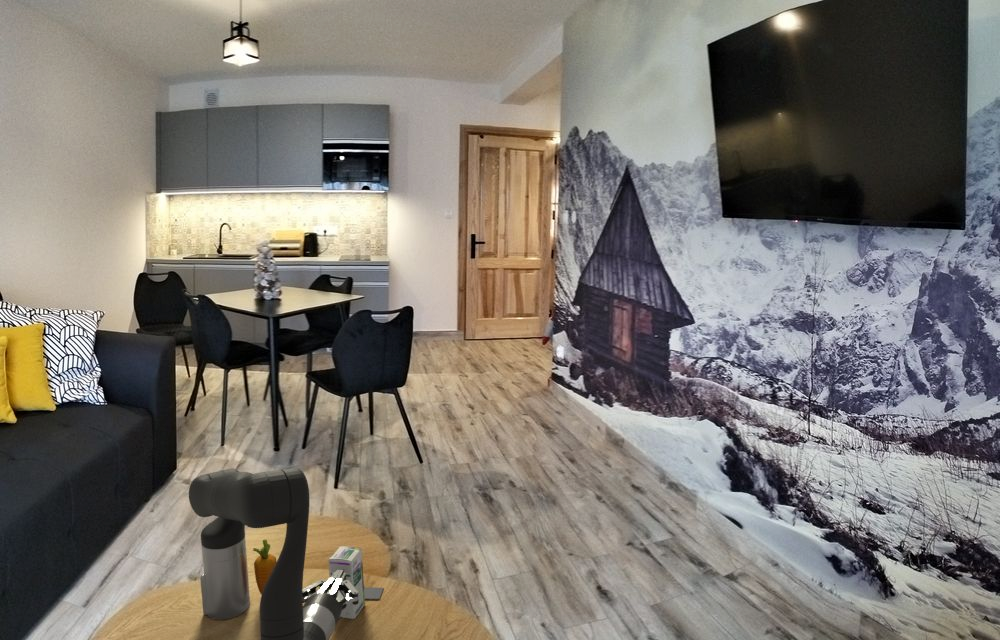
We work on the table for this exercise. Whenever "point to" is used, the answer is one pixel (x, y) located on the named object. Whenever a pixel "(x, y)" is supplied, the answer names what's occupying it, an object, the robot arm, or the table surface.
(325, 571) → the table surface
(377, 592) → the grey flat block
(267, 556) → the carrot
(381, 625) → the table surface
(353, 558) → the syrup box
